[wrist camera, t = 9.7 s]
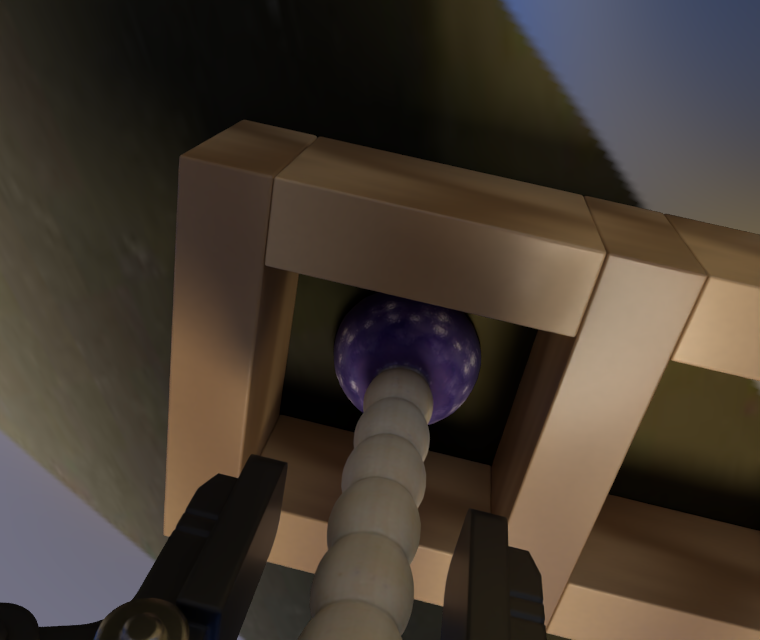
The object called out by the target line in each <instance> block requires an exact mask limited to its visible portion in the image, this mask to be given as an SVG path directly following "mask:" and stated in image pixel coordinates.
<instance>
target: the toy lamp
mask: <svg viewBox="0 0 760 640" xmlns="http://www.w3.org/2000/svg"><path fill="white" fill-rule="evenodd" d="M334 365H335V371H336V375H337V378H338V380H339V383H340V386H341V387H342V389H343V391H344V393H345V394H346V396H347V397H348V399H349V400H350V401H351V402H352V403H353V404H354V405H355V406H356V407H357V408H358V409H359V410H360V411H361V412H363V414H362V416H361V417H360V419H359V420H358V423H357V425H356V428H355V433H354V450H353V451H352V452H351V454H350V455H349V457H348V459H347V461H346V464H345V466H344V469H343V473H342V483H341V487H342V494H341V495H340V497H339V498H338V500H337V501H336V502H335V505H334V507H333V509H332V511H331V514H330V517H329V520H328V527H327V546H328V551H327V552H326V553H325V555H324V556H323V558H322V559H321V561H320V563H319V564H318V567H317V570H316V572H315V575H314V578H313V582H312V586H311V592H310V611H311V617H312V619H311V620H310V621H309V623H308V624H307V625H306V627H305V628H304V630H303V631H302V633H301V634H300V636H299V638H298V640H402V638H401V635H402V634H403V632H404V630H405V628H406V626H407V624H408V621H409V618H410V615H411V612H412V606H413V599H414V581H413V574H412V571H411V567H410V564H411V563H412V561H413V559H414V557H415V555H416V552H417V549H418V546H419V541H420V533H421V522H420V516H419V512H418V507H419V505H420V504H421V502H422V500H423V497H424V493H425V488H426V472H425V466H424V463H423V462H424V460H425V458H426V456H427V453H428V449H429V443H430V433H429V428H428V425H430V424H433V423H435V422H438V421H439V420H442V419H444V418H446V417H448V416H449V415H450V414H452V413H454V412H455V411H456V410H457V409H458V408H459V407H460V406H461V405H462V404H463V403H464V401H465V400H466V399H467V397H468V396H469V394H470V393H471V391H472V389H473V387H474V385H475V383H476V381H477V379H478V374H479V370H480V366H481V350H480V343H479V340H478V337H477V335H476V332H475V329H474V326H473V325H472V323H471V322H470V321H469V319H468V318H467V317H466V315H465V314H464V313H463V312H462V311H458V310H454V309H449V308H445V307H441V306H436V305H432V304H428V303H424V302H419V301H415V300H411V299H407V298H402V297H398V296H394V295H389V294H385V293H381V292H378V293H376V294H373V295H370V296H367V297H366V298H364V299H363V300H361V301H360V302H359V303H358V304H356V305H355V306H354V307H353V308H352V309H351V310H350V311H349V312H348V313H347V314H346V315H345V317H344V319H343V320H342V322H341V324H340V326H339V328H338V331H337V334H336V338H335V343H334Z"/></svg>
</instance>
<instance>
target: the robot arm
mask: <svg viewBox="0 0 760 640" xmlns="http://www.w3.org/2000/svg"><path fill="white" fill-rule="evenodd" d="M287 469H288V463H287V462H283V461H279V460H275V459H271V458H267V457H263V456H259V455H255V454H251V455H250V456H249V458H248V460H247V462H246V464H245V466H244V468H243V470H242V472H241V474H240V476H239V478H236V477H232V476H228V475H224V474H220V473H218V474H216V475H215V476H214V477H212V478H211V479H210V480H208V481H207V482H206V483H204V484H203V485H202V486H200V487H199V488H198V489H197V490H196V492H195V494H194V496H193V497H192V499H191V501H190V502H189V504H188V506H187V508H186V510H185V513H183V515H182V516H181V518H180V520H179V522H178V523H177V525H176V528H175V530H173V532H172V534H171V535H170V537H169V539H168V541H167V542H166V544H165V546H164V547H163V549H162V551H161V553H160V554H159V556H158V558H157V560H156V561H155V563H154V565H153V567H152V568H151V570H150V572H149V573H148V575H147V577H146V579H145V580H144V582H143V584H142V586H141V587H140V589H139V591H138V592H137V594H136V595H135V597H134V598H133V599H132V600H131V601H130V602H127V603H125V604H123V605H121V606H119V607H117V608H116V609H114V610H113V611H112V612H111V613H109V614H108V615H107V616H106V617H105V619H103V620H100V621H97V622H94V623H90V624H83V625H71V626H51V627H38V623H37V621H36V619H35V617H34V616H33V614H32V613H31V612H30V611H28V610H27V609H25V608H24V607H22V606H19V605H16V604H11V603H0V640H237V637H238V635H239V632H240V630H241V627H242V624H243V622H244V619H245V617H246V614H247V611H248V609H249V606H250V604H251V601H252V599H253V596H254V593H255V591H256V588H257V586H258V583H259V580H260V578H261V575H262V573H263V570H264V568H265V565H266V562H267V560H268V557H269V555H270V552H271V549H272V546H273V543H274V540H275V537H276V533H277V529H278V525H279V520H280V514H281V508H282V501H283V495H284V488H285V482H286V475H287ZM544 622H545V613H544V605H543V589H542V576H541V573H540V572H539V570H538V568H537V566H536V564H535V562H534V560H533V558H532V556H531V554H530V552H529V551H526V550H522V549H518V548H514V547H510V546H508V521H507V518H506V517H504V516H500V515H496V514H492V513H488V512H484V511H479V510H475V509H471V508H469V510H468V512H467V514H466V517H465V520H464V523H463V526H462V529H461V532H460V535H459V538H458V541H457V544H456V547H455V550H454V553H453V556H452V559H451V562H450V566H449V570H448V574H447V579H446V585H445V592H444V603H443V616H442V629H441V640H547V637H546V625H544Z"/></svg>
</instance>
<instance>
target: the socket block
mask: <svg viewBox="0 0 760 640" xmlns="http://www.w3.org/2000/svg"><path fill="white" fill-rule="evenodd" d="M299 274H304V275H308V276H312V277H317V278H321V279H325V280H329V281H334V282H338V283H342V284H347V285H351V286H355V287H359V288H364V289H368V290H372V291H377V292H381V293H385V294H389V295H394V296H398V297H402V298H407V299H411V300H415V301H419V302H424V303H428V304H432V305H436V306H441V307H445V308H449V309H454V310H458V311H462V312H466V313H471V314H475V315H479V316H484V317H488V318H492V319H496V320H501V321H505V322H509V323H514V324H518V325H522V326H526V327H531V328H535V329H538V332H537V335H536V338H535V340H534V343H533V346H532V349H531V352H530V355H529V358H528V361H527V364H526V367H525V370H524V373H523V376H522V379H521V382H520V385H519V387H518V390H517V393H516V396H515V399H514V402H513V405H512V408H511V411H510V414H509V417H508V420H507V423H506V426H505V429H504V432H503V434H502V437H501V440H500V443H499V446H498V449H497V452H496V455H495V458H494V461H493V464H492V467H491V466H490V465H486V464H482V463H478V462H474V461H470V460H465V459H461V458H457V457H453V456H449V455H445V454H441V453H437V452H433V451H429V450H428V453H427V456H426V458H425V460H424V462H423V463H424V466H425V472H426V488H425V493H424V497H423V500H422V502H421V504H420V505H419V507H418V512H419V516H420V522H421V533H420V541H419V546H418V549H417V552H416V555H415V557H414V559H413V561H412V563H411V564H410V567H411V571H412V574H413V581H414V599H416V600H420V601H424V602H428V603H432V604H436V605H440V606H443V603H444V592H445V585H446V579H447V574H448V570H449V566H450V562H451V559H452V556H453V553H454V550H455V547H456V544H457V541H458V538H459V535H460V532H461V529H462V526H463V523H464V520H465V517H466V514H467V512H468V510H469V508H471V509H475V510H479V511H484V512H488V513H492V514H496V515H500V516H504V517H506V518H507V521H508V546H510V547H514V548H518V549H522V550H526V551H529V552H530V554H531V556H532V558H533V560H534V562H535V564H536V566H537V568H538V570H539V572H540V573H541V576H542V589H543V605H544V613H545V622H544V625H546V632H547V633H549V634H553V635H557V636H561V637H565V638H569V639H573V640H760V531H757V530H753V529H749V528H745V527H741V526H737V525H733V524H729V523H725V522H721V521H716V520H712V519H708V518H704V517H700V516H696V515H692V514H688V513H684V512H680V511H675V510H671V509H667V508H663V507H659V506H655V505H651V504H647V503H643V502H638V501H634V500H630V499H626V498H622V497H618V496H614V495H610V494H608V493H609V491H610V489H611V486H612V484H613V482H614V480H615V478H616V476H617V473H618V471H619V469H620V467H621V465H622V462H623V460H624V458H625V456H626V454H627V452H628V449H629V447H630V445H631V443H632V441H633V438H634V436H635V434H636V432H637V430H638V428H639V425H640V423H641V421H642V419H643V417H644V415H645V412H646V410H647V408H648V406H649V404H650V401H651V399H652V397H653V395H654V393H655V391H656V388H657V386H658V384H659V382H660V380H661V377H662V375H663V373H664V371H665V369H666V367H667V364H668V362H669V360H670V359H671V360H672V361H676V362H680V363H684V364H689V365H693V366H697V367H701V368H706V369H710V370H714V371H719V372H723V373H727V374H731V375H736V376H740V377H744V378H749V379H753V380H757V381H760V235H759V234H754V233H750V232H746V231H741V230H736V229H732V228H728V227H723V226H719V225H714V224H710V223H705V222H701V221H696V220H692V219H687V218H683V217H678V216H674V215H670V214H663V213H660V212H656V211H652V210H647V209H643V208H638V207H634V206H629V205H625V204H620V203H616V202H611V201H607V200H603V199H598V198H594V197H589V196H584V197H583V196H582V195H580V194H575V193H571V192H566V191H562V190H557V189H553V188H548V187H544V186H539V185H535V184H530V183H526V182H522V181H517V180H513V179H508V178H504V177H499V176H495V175H490V174H486V173H481V172H477V171H472V170H468V169H463V168H459V167H454V166H450V165H446V164H441V163H437V162H432V161H428V160H423V159H419V158H414V157H410V156H405V155H401V154H396V153H392V152H387V151H383V150H378V149H374V148H369V147H365V146H361V145H356V144H352V143H347V142H343V141H338V140H334V139H329V138H325V137H318V138H317V136H315V135H311V134H306V133H302V132H297V131H293V130H288V129H284V128H280V127H275V126H271V125H266V124H262V123H257V122H253V121H248V120H242V121H240V122H238V123H236V124H235V125H233V126H231V127H229V128H228V129H226V130H224V131H222V132H221V133H219V134H217V135H215V136H214V137H212V138H210V139H208V140H207V141H205V142H203V143H201V144H199V145H198V146H196V147H194V148H192V149H191V150H189V151H187V152H185V153H184V154H182V155H180V157H179V176H178V200H177V224H176V247H175V271H174V295H173V318H172V342H171V366H170V389H169V413H168V437H167V460H166V484H165V508H164V531H163V534H164V535H165V536H169V537H170V535H171V534H172V532H173V530H175V528H176V525H177V523H178V522H179V520H180V518H181V516H182V515H183V513H185V510H186V508H187V506H188V504H189V502H190V501H191V499H192V497H193V496H194V494H195V492H196V490H197V489H198V488H199V487H200V486H202V485H203V484H204V483H206V482H207V481H208V480H210V479H211V478H212V477H214V476H215V475H216V474H218V473H220V474H224V475H228V476H232V477H236V478H239V476H240V474H241V472H242V470H243V468H244V466H245V464H246V462H247V460H248V458H249V456H250V455H251V454H255V455H259V456H263V457H267V458H271V459H275V460H279V461H283V462H287V463H288V469H287V475H286V482H285V488H284V495H283V501H282V508H281V514H280V520H279V525H278V529H277V533H276V537H275V540H274V543H273V546H272V549H271V552H270V555H269V557H268V560H267V562H271V563H275V564H279V565H283V566H286V567H290V568H294V569H298V570H302V571H306V572H310V573H314V574H315V572H316V570H317V567H318V564H319V563H320V561H321V559H322V558H323V556H324V555H325V553H326V552H327V551H328V546H327V527H328V520H329V517H330V514H331V511H332V509H333V507H334V505H335V502H336V501H337V500H338V498H339V497H340V495H341V494H342V487H341V483H342V473H343V469H344V466H345V464H346V461H347V459H348V457H349V455H350V454H351V452H352V451H353V450H354V433H355V432H351V431H346V430H342V429H338V428H334V427H330V426H326V425H322V424H318V423H314V422H310V421H305V420H301V419H297V418H293V417H289V416H285V415H280V416H279V413H280V405H281V398H282V391H283V384H284V377H285V370H286V362H287V355H288V348H289V341H290V334H291V326H292V319H293V312H294V305H295V298H296V290H297V283H298V276H299Z"/></svg>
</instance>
